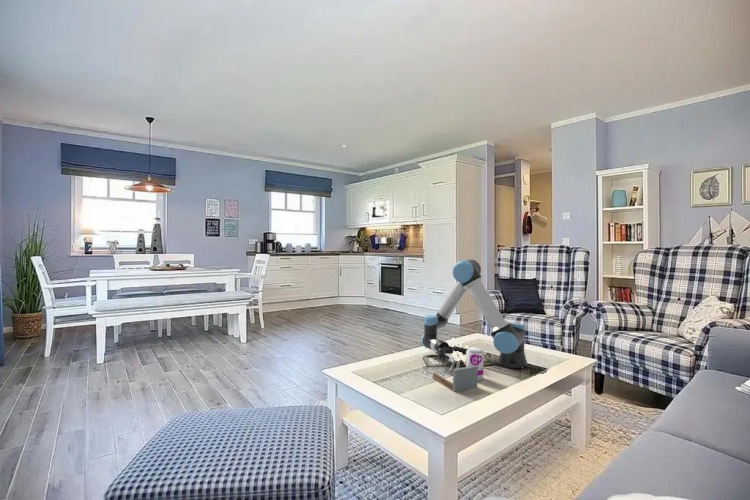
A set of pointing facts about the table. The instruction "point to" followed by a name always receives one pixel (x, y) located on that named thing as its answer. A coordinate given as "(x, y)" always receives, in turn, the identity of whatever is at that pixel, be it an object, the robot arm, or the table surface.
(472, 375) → the block
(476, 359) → the supplement can
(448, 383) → the channel
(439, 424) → the table surface
